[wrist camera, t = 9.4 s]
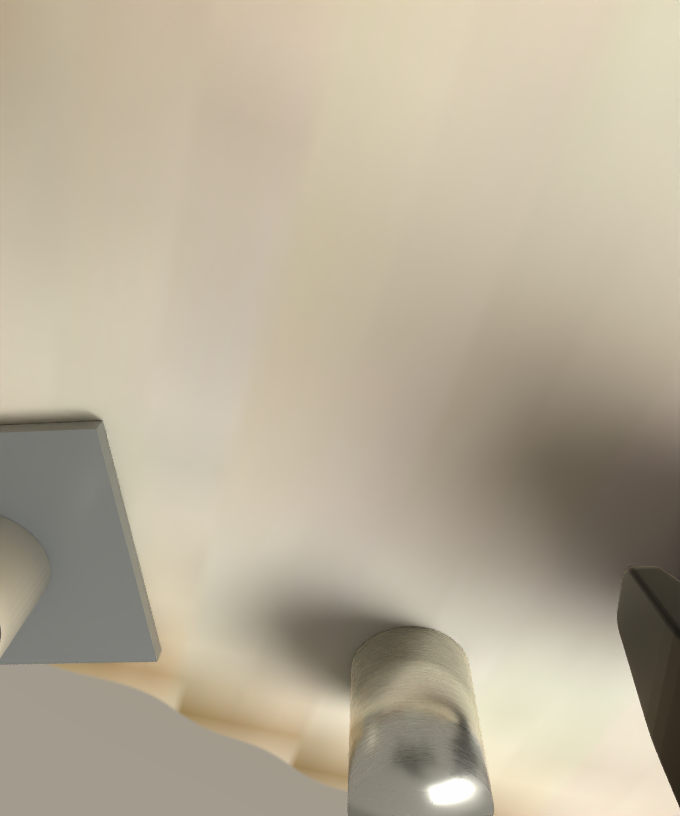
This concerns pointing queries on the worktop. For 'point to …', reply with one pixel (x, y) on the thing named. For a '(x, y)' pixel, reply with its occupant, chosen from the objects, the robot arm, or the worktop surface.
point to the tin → (415, 729)
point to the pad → (75, 547)
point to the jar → (19, 578)
